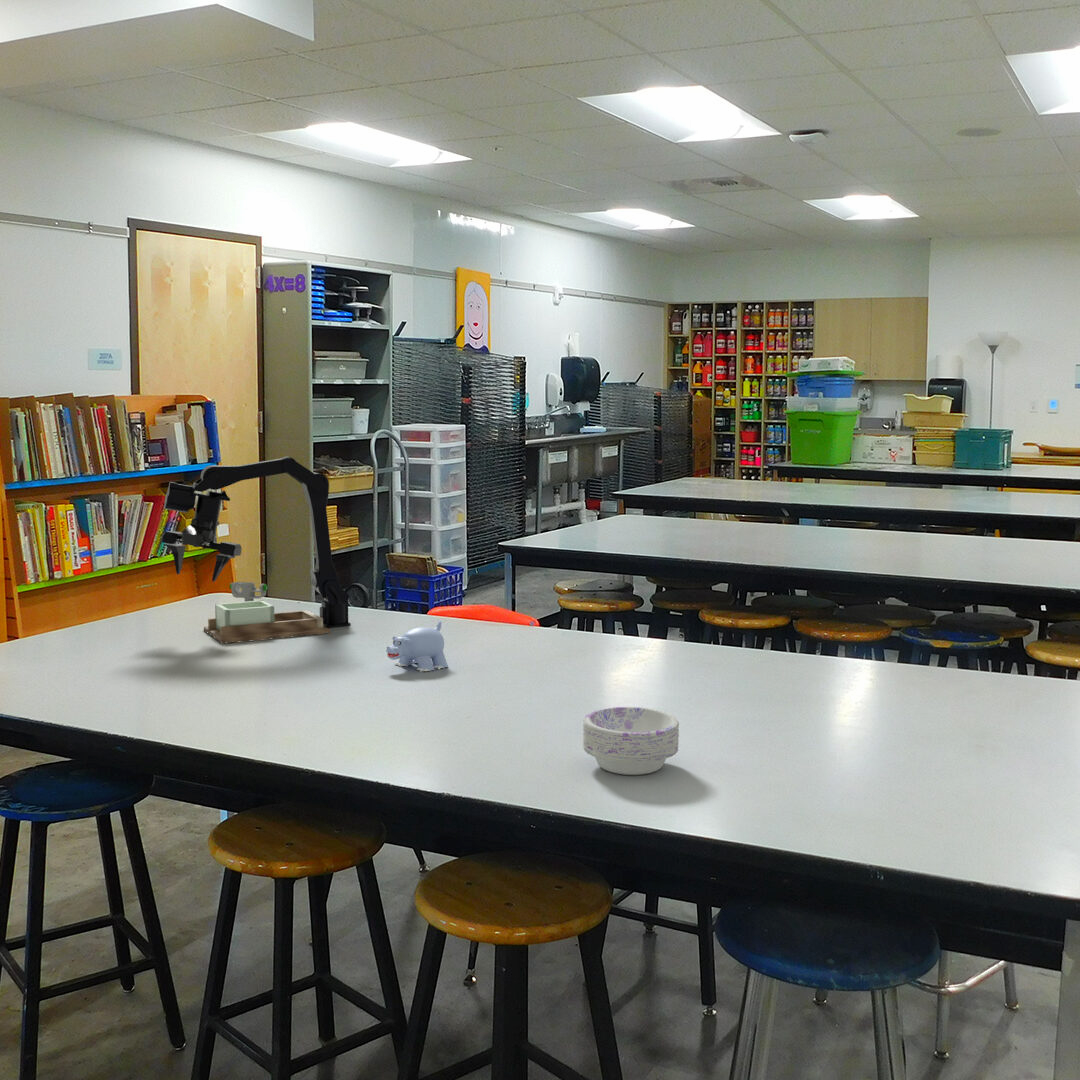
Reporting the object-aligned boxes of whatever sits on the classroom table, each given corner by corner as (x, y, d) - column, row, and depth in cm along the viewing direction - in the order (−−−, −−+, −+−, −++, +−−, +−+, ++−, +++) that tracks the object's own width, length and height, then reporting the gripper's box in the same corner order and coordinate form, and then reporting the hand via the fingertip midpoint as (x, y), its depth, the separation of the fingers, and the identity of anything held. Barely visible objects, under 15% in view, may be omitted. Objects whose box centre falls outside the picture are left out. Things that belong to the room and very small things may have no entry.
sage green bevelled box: (263, 623, 293) (262, 600, 293) (274, 630, 285) (274, 606, 284) (215, 627, 288) (215, 604, 287) (226, 634, 279) (225, 610, 278)
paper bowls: (639, 788, 173) (640, 737, 172) (563, 767, 183) (563, 718, 182) (696, 766, 184) (698, 717, 183) (621, 746, 194) (622, 700, 193)
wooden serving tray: (307, 621, 303) (307, 608, 303) (330, 633, 288) (330, 619, 288) (203, 630, 290) (203, 617, 290) (222, 643, 275) (221, 629, 274)
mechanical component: (265, 622, 302) (264, 584, 301) (229, 620, 304) (228, 583, 303) (269, 620, 305) (269, 583, 304) (234, 618, 307) (233, 581, 306)
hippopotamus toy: (374, 669, 250) (373, 626, 249) (425, 658, 261) (425, 617, 260) (406, 677, 243) (406, 633, 242) (458, 666, 254) (458, 623, 253)
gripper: (157, 508, 277) (146, 572, 278) (231, 523, 275) (220, 587, 276) (175, 508, 288) (165, 569, 289) (247, 522, 286) (236, 584, 287)
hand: (195, 577), depth 285 cm, fingers open, 9 cm apart
